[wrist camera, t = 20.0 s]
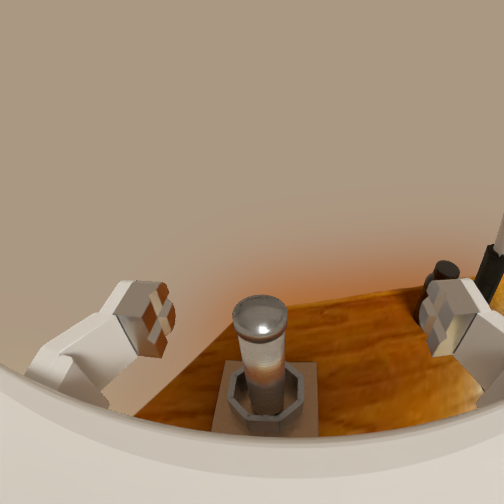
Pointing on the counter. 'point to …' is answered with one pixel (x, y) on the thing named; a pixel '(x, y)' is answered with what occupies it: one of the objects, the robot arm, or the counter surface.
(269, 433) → the duct collar
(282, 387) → the grey tall capped cylinder
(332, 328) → the counter surface
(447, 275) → the supplement bottle
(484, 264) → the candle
